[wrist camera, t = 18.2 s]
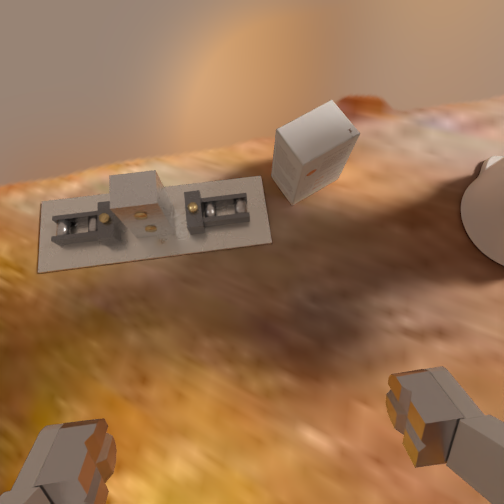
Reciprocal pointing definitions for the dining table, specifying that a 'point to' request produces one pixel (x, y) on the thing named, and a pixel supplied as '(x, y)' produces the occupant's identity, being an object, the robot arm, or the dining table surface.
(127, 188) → the mini drawer chest
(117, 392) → the dining table surface
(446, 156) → the dining table surface
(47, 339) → the dining table surface
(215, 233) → the grey long flat board
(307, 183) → the small box
